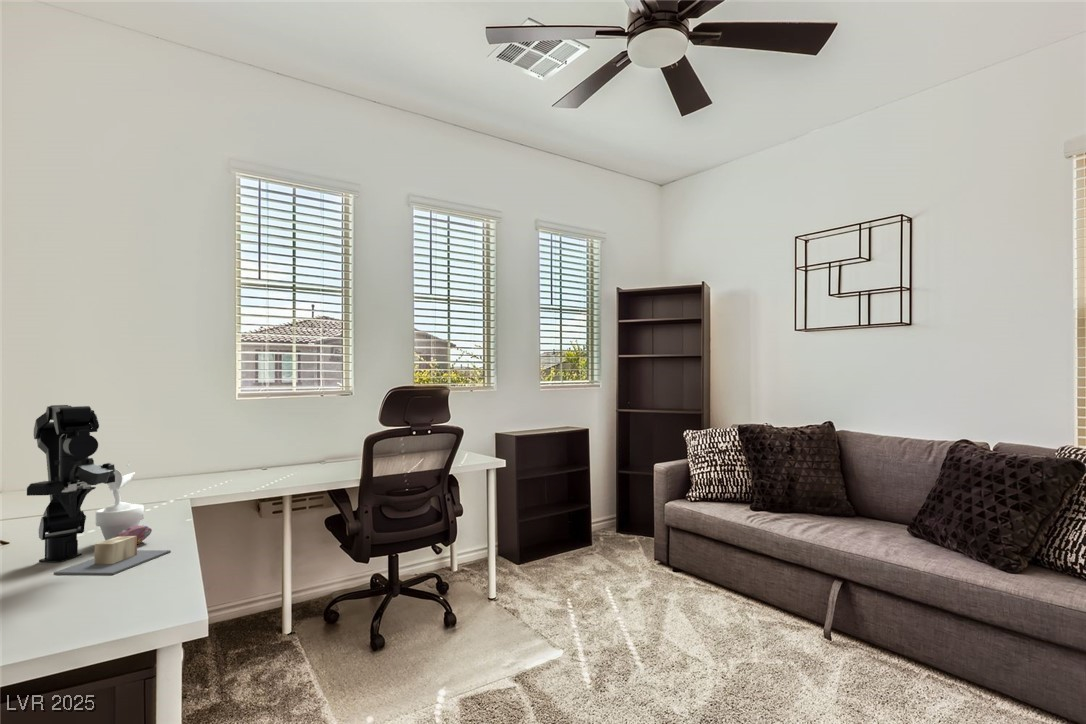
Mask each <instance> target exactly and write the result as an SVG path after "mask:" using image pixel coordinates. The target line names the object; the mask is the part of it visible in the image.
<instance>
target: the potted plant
mask: <svg viewBox="0 0 1086 724" xmlns="http://www.w3.org/2000/svg"><path fill="white" fill-rule="evenodd" d="M131 465H132V464H131V463H130V461H128V463H127V465H126V466H127V468H128V469H130V468H131ZM114 474H115V482H112V483H107V486H108V489H109V490H110V491H112V495H113V497H114V503H111V504H110V505H108V506H106V507H103V508H100V509H98V510H95V526H96V527H99V528H100V531H101V533H102V535H103V537H104V541H106V540H109V539H112V538H115V537H116V536H117V535H118V534H119V533H121V531H122V530H126V529H128V528H130V527H133V526H140V522H141V521H143V520H144V516H145V515H144V512H145V510H144V509H145V507H144V504H138V503H137V504H136V503H134V504H133V503H132V504H131V503H130V502H124V501H121V500H122V497H121V492H120V490H119V489H122V488H124V487H125V486H127V485H128V484H129V483H130V482H131V480H132V479H133V478H134V476H135V474H136V472H134V471H133V472H131V473H127V474H125V475H123V472H121V471H120V470H119V469H117V468H115V472H114Z"/></svg>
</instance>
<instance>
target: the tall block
mask: <svg viewBox="0 0 1086 724" xmlns="http://www.w3.org/2000/svg"><path fill="white" fill-rule="evenodd" d="M137 548H138V545H137V536H118V537H115V538H112V539H109V540H103V541H100V542H97V543H94V558H95V564H113V563H116V562H118V561H121V560H124V559H127V558H129V557H132V556H135V555H137V550H138V549H137Z"/></svg>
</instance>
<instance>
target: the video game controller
mask: <svg viewBox="0 0 1086 724" xmlns="http://www.w3.org/2000/svg"><path fill="white" fill-rule="evenodd" d="M152 532H153V530H152V528H150V526H147V525H144V524H142V525H138V526H133V527H130V528H128V529H126V530H122V531H121V533H119V534H118V535H117V536H116V537H118V536H137V544H138V545H140V544H142V542H143V541H144V540H145V539H147V538H148V537H149V536H150V535H151V533H152ZM139 543H140V544H139Z"/></svg>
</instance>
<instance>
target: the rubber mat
mask: <svg viewBox="0 0 1086 724" xmlns="http://www.w3.org/2000/svg"><path fill="white" fill-rule="evenodd" d="M169 553H171V549H170V550H169V549H167V550H165V549H163V550H161V549H160V550H156V549H155V550H154V549H153V550H151V549H150V550H148V549H147V550H145V549H143V550H142V549H141V550H140V549H139V550H138V549H137V555H135V556H132V557H129V558H127V559H124V560H121V561H118V562H116V563H113V564H95V557H94V558H92V559H88V560H86V561H81V562H80V563H77V564H76V563H75V564H74V565H71V566H68V567H66V568H62V569H59V570H57V571H53V575H73V576H75V575H78V576H79V575H80V576H81V575H82V576H83V575H86V576H89V575H90V576H92V575H93V576H101V575H102V576H103V575H104V576H105V575H106V576H114V575H117V574H118V573H121V571H122V572H124V571H127V570H129V569H131V568H134V567H137V566H139V565H142V564H144V563H147V562H149V561H152V560H154V559H156V558H159V557H162V556H164V555H167V554H169ZM126 569H127V570H126ZM116 573H117V574H116Z"/></svg>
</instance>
